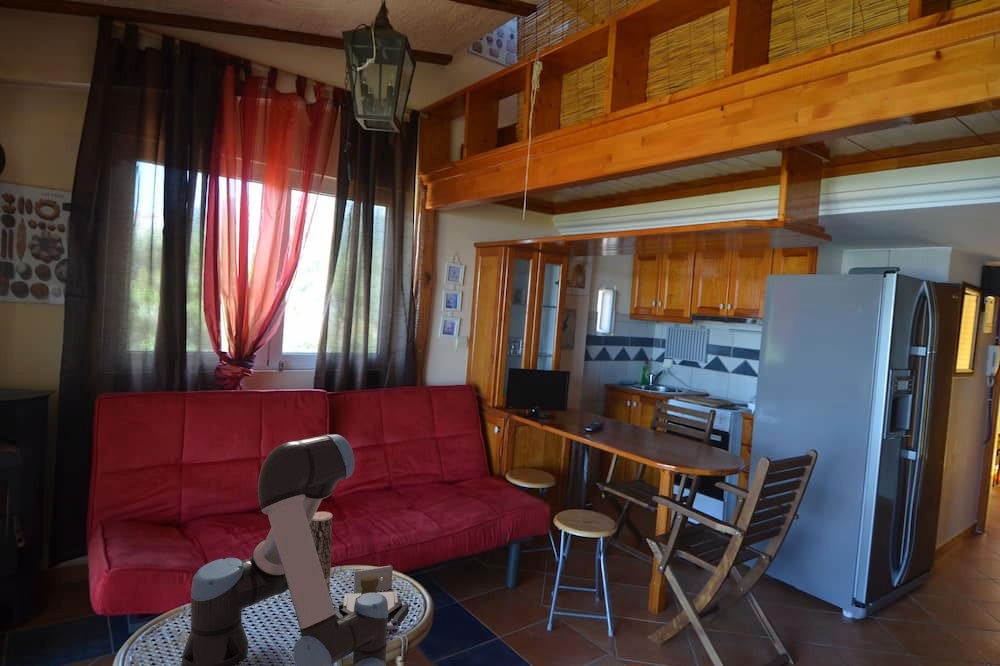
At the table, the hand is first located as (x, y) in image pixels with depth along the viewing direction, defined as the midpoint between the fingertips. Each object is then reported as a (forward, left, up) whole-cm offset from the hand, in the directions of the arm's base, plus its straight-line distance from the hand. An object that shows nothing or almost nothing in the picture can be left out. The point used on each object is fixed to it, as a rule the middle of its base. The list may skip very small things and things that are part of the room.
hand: (370, 596), depth 163 cm
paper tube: (-16, +21, -9) cm, 28 cm away
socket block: (0, +6, -9) cm, 11 cm away
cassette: (+1, +21, -9) cm, 23 cm away
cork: (-1, +6, -8) cm, 10 cm away
